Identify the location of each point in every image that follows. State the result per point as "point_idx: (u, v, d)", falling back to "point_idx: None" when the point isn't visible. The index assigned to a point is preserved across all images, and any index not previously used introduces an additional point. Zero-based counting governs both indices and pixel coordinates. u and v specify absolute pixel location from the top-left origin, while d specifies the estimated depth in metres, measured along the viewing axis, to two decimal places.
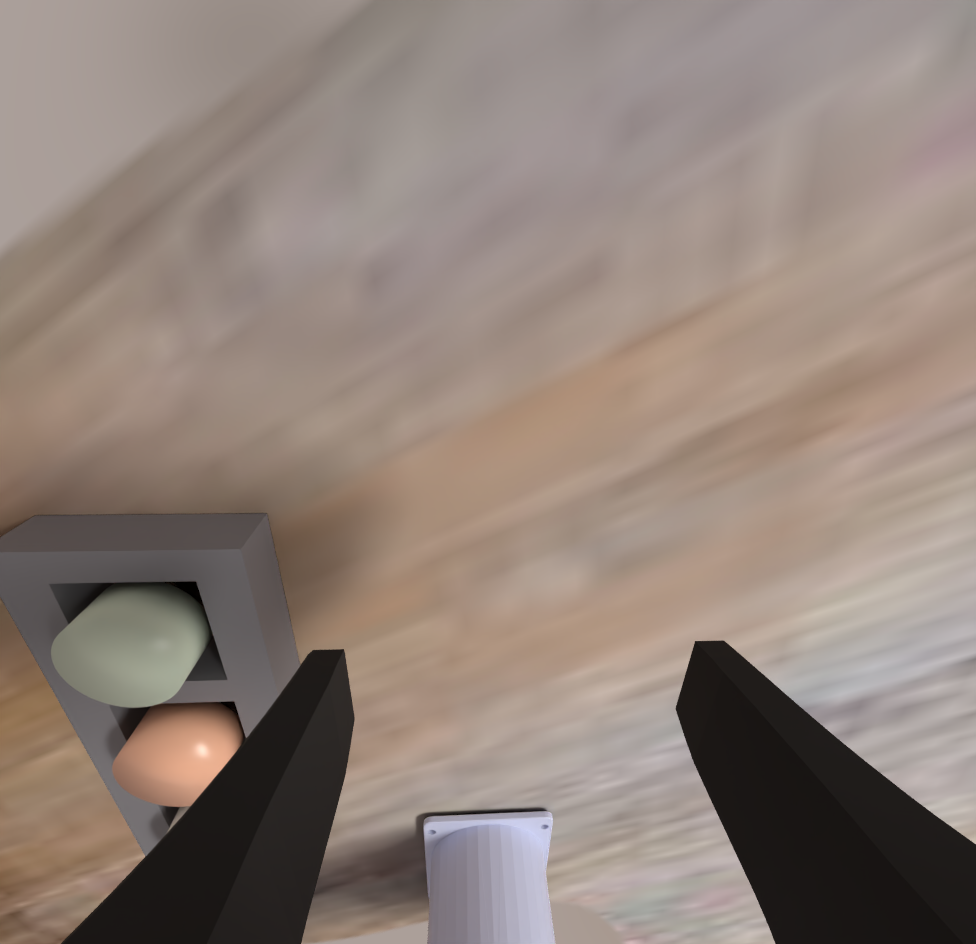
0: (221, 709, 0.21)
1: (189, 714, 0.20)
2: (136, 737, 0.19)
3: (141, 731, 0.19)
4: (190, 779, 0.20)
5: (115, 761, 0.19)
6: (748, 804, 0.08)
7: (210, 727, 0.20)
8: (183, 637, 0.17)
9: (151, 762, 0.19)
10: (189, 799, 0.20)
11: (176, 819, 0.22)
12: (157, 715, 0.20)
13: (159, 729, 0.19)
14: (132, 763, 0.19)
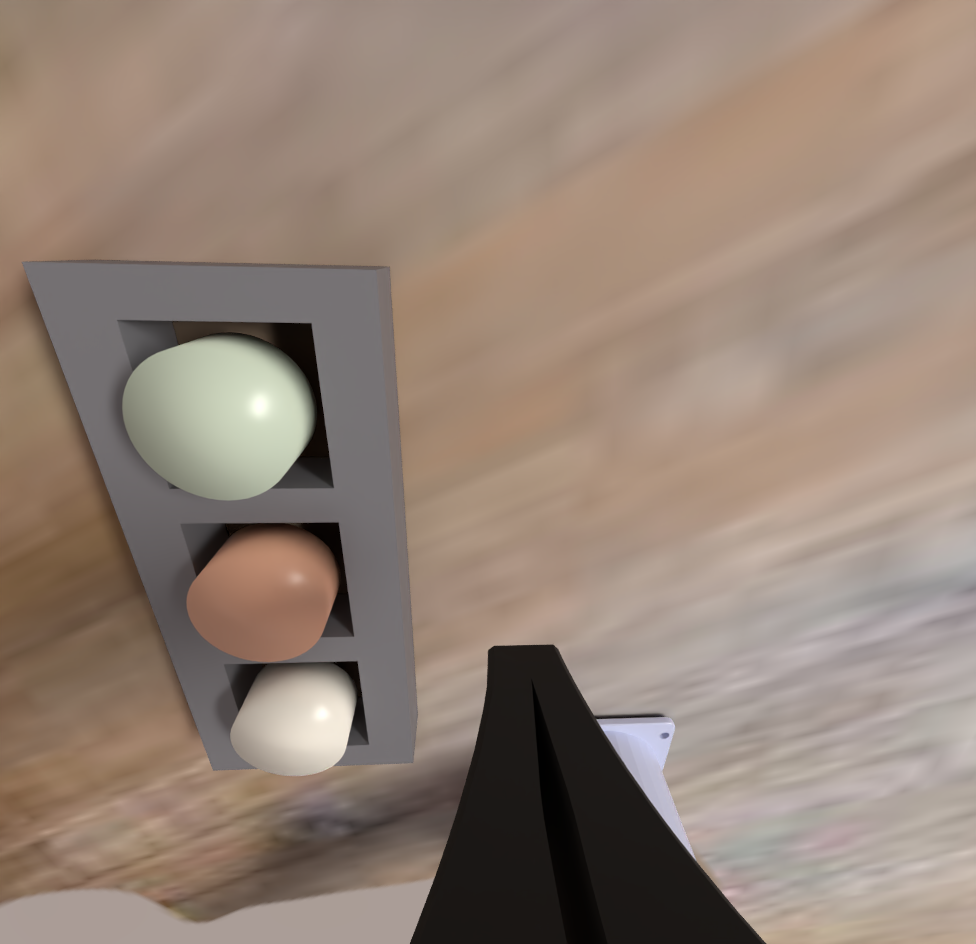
0: (317, 541, 0.17)
1: (281, 538, 0.16)
2: (218, 557, 0.15)
3: (223, 553, 0.15)
4: (283, 619, 0.15)
5: (191, 588, 0.15)
6: (543, 813, 0.08)
7: (308, 555, 0.16)
8: (293, 398, 0.13)
9: (238, 591, 0.15)
10: (278, 652, 0.16)
11: (252, 693, 0.18)
12: (241, 538, 0.16)
13: (248, 549, 0.15)
14: (213, 591, 0.15)
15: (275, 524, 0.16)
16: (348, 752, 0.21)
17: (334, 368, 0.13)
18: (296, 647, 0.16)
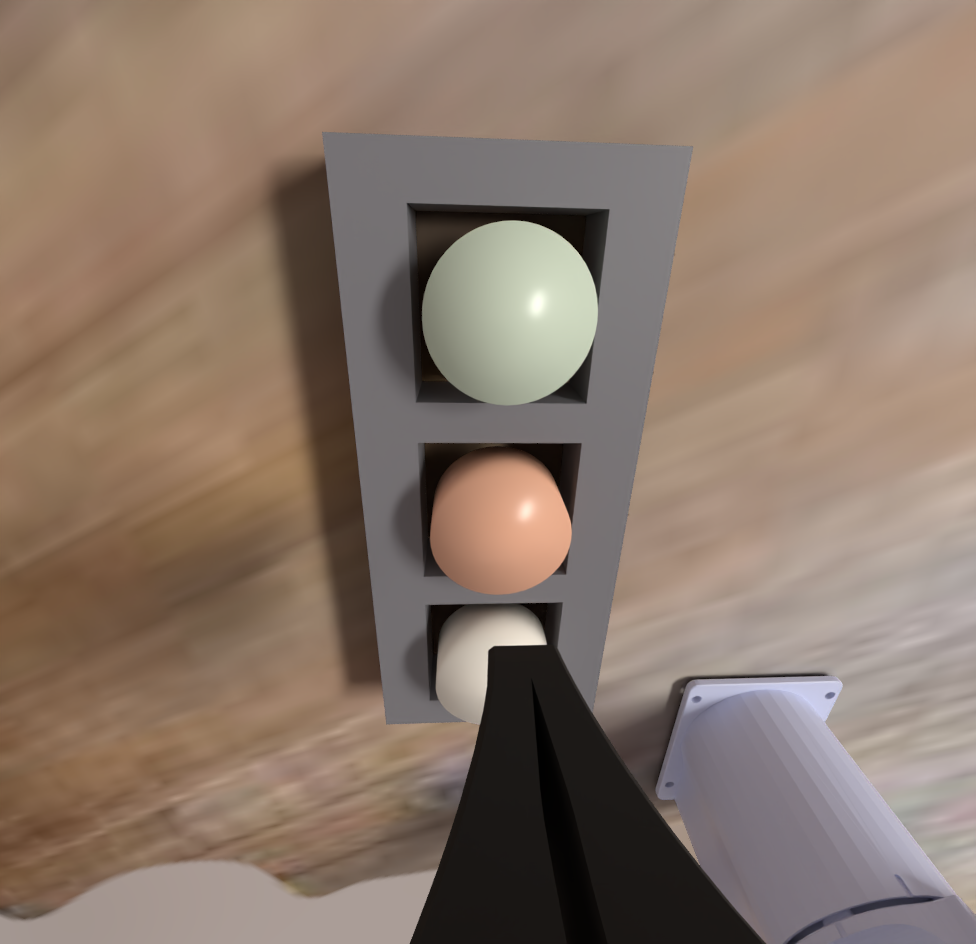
0: (545, 468, 0.16)
1: (521, 460, 0.15)
2: (469, 476, 0.14)
3: (470, 472, 0.14)
4: (526, 545, 0.15)
5: (441, 507, 0.14)
6: (543, 813, 0.08)
7: (548, 479, 0.15)
8: None
9: (488, 512, 0.14)
10: (511, 583, 0.15)
11: (455, 635, 0.17)
12: (480, 460, 0.15)
13: (499, 467, 0.14)
14: (462, 512, 0.14)
15: (506, 448, 0.15)
16: None
17: (620, 263, 0.12)
18: (531, 578, 0.15)
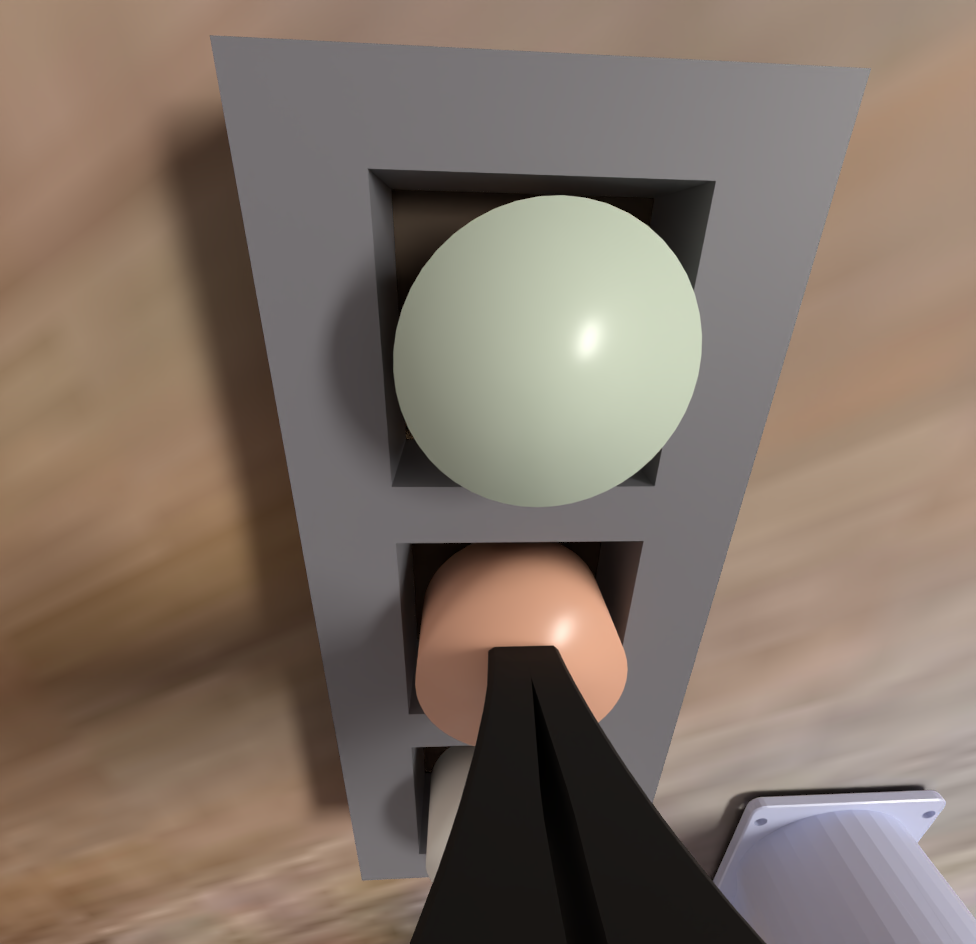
0: (584, 565, 0.11)
1: (551, 561, 0.10)
2: (474, 595, 0.09)
3: (475, 587, 0.09)
4: None
5: (432, 645, 0.09)
6: (543, 813, 0.08)
7: (591, 589, 0.10)
8: None
9: None
10: None
11: (453, 790, 0.12)
12: (490, 562, 0.10)
13: (520, 580, 0.09)
14: (464, 650, 0.09)
15: None
16: None
17: (726, 272, 0.08)
18: None
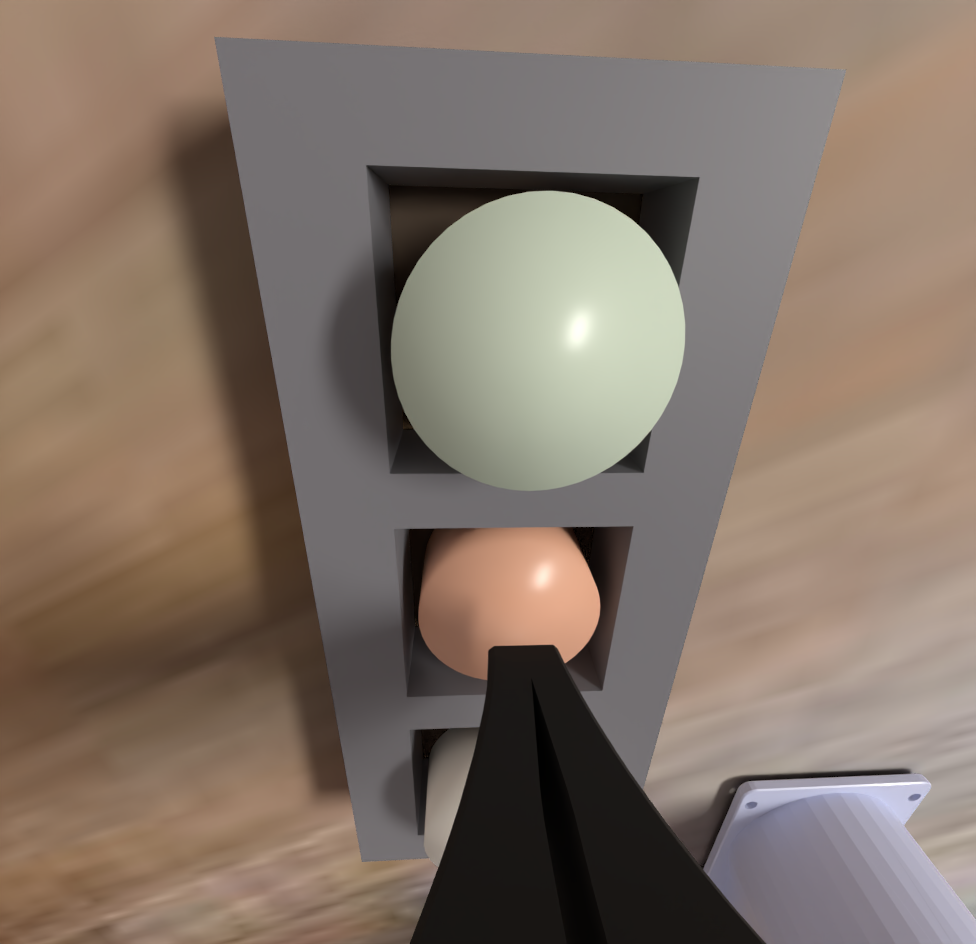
0: None
1: None
2: (468, 539, 0.11)
3: (469, 533, 0.11)
4: (542, 625, 0.11)
5: (432, 581, 0.11)
6: (543, 812, 0.08)
7: (570, 538, 0.12)
8: None
9: (493, 586, 0.11)
10: None
11: (450, 771, 0.13)
12: None
13: None
14: (460, 586, 0.11)
15: None
16: None
17: (710, 265, 0.08)
18: None
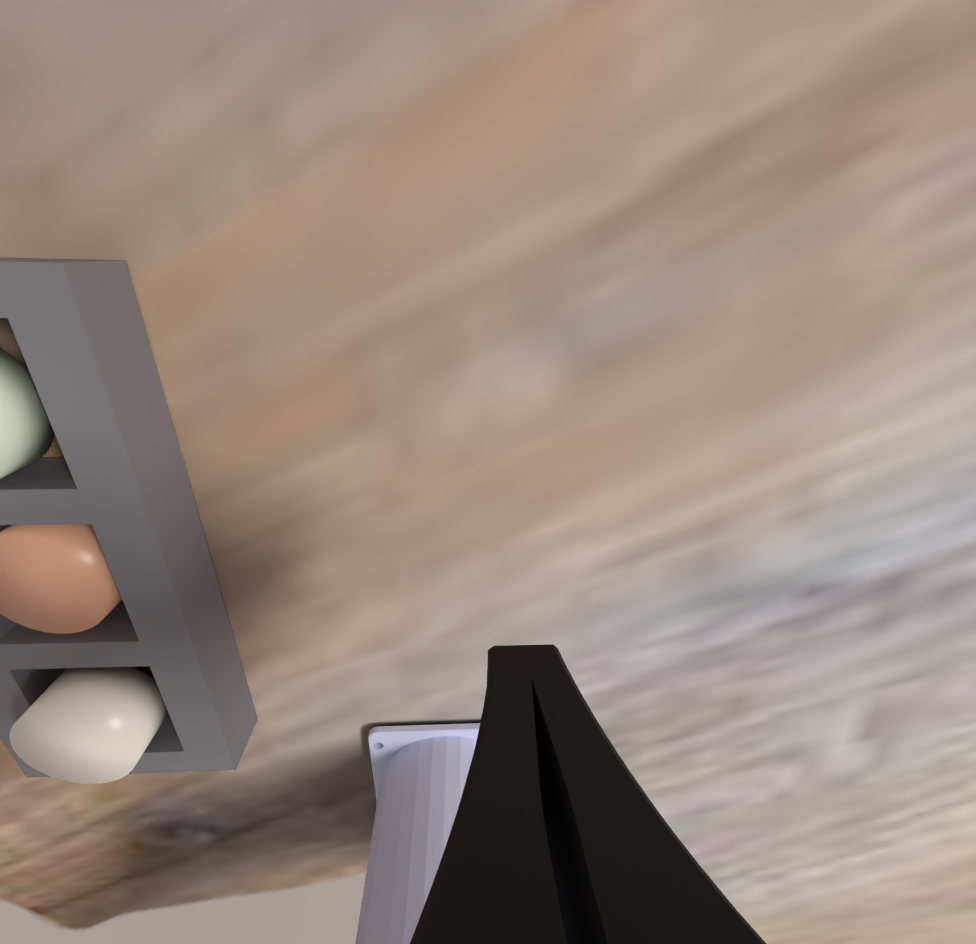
0: None
1: None
2: None
3: (6, 529, 0.16)
4: (68, 592, 0.16)
5: None
6: (543, 812, 0.08)
7: (94, 532, 0.17)
8: None
9: (16, 564, 0.16)
10: (70, 623, 0.17)
11: (37, 699, 0.18)
12: None
13: (27, 525, 0.16)
14: None
15: None
16: (164, 759, 0.20)
17: (44, 365, 0.13)
18: (87, 619, 0.17)
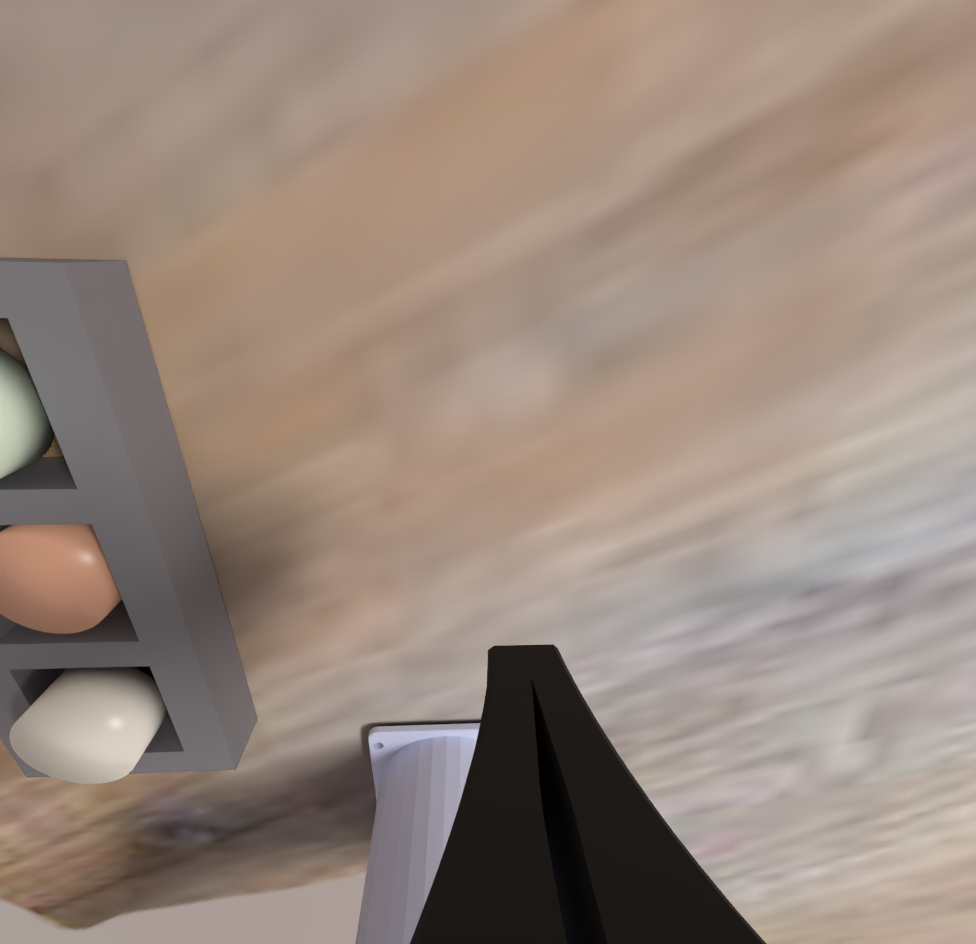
0: None
1: None
2: None
3: (6, 529, 0.16)
4: (68, 592, 0.16)
5: None
6: (543, 812, 0.08)
7: (94, 532, 0.17)
8: None
9: (16, 564, 0.16)
10: (70, 623, 0.17)
11: (37, 699, 0.18)
12: None
13: (27, 525, 0.16)
14: None
15: None
16: (164, 759, 0.20)
17: (44, 365, 0.13)
18: (87, 619, 0.17)
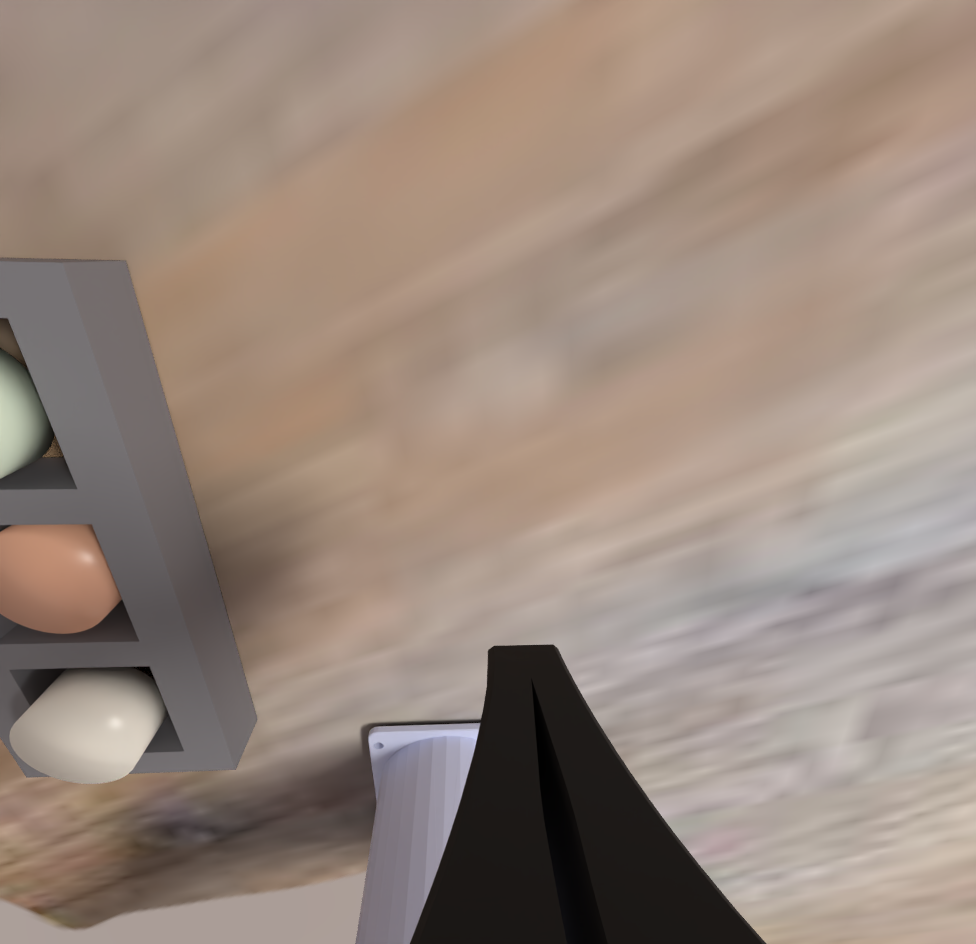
0: None
1: None
2: None
3: (6, 529, 0.16)
4: (68, 592, 0.16)
5: None
6: (543, 812, 0.08)
7: (94, 532, 0.17)
8: None
9: (16, 564, 0.16)
10: (70, 623, 0.17)
11: (37, 699, 0.18)
12: None
13: (27, 525, 0.16)
14: None
15: None
16: (164, 759, 0.20)
17: (44, 365, 0.13)
18: (87, 619, 0.17)
